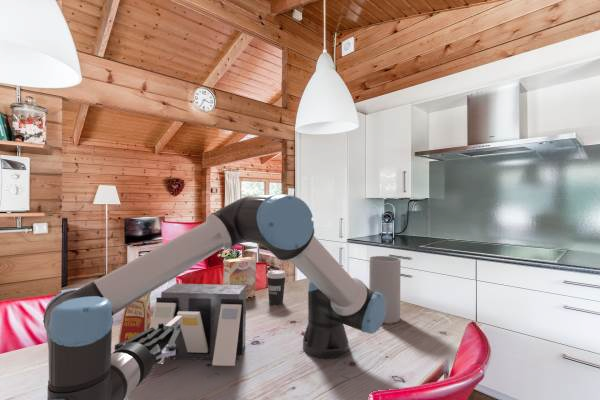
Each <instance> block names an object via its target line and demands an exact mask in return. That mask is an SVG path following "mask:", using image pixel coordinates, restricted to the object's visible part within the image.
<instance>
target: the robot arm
mask: <svg viewBox="0 0 600 400" xmlns="http://www.w3.org/2000/svg"><path fill="white" fill-rule="evenodd" d="M313 217H314V216H313V213H312V210H311V209H310V207H309V205H308V204H307V203H306V202H305V201H304V200H302V199H301V198H299V197H297V196H295V195H290V194H289V195H288V194H286V193H277V194H267V195H266V194H263V195H258V194H255V195H246V196H244V197H242V198H239V199H237V200H235V201H233V202H231V203H229V204H227V205H226V206H224V207H222V208H220V209H218V210H216V211H214V212H212V213H210V214H208V215H207V217H206V220H205V221H204V222H202V223H201V224H199V225H197V226H195V227H193V228H191V229H189V230H188V231H185V232H184V233H182V234H180V235H178V236H176V237H175V238H173V239H171V240H169V241H167V242H165V243H163V244H161V245H159V246H158V247H156V248H154V249H152V250H150V251H148V252H146V253H145V254H143V255H142V254H141V256H139V257H137V258H135V259H133V260H131V261H129V262H128V263H126V264H124V265H122V266H120V267H118V268H116V269H115V270H113V271H111V272H109V273H107V274H105V275H103V276H101V277H99V278H97V279H96V280H94V281H92V282H90V283H88V284H86V285H84V286H81V287H80V288H78V289H69V290H65V291H62V292H59V293H57V294H56V295H55V296H53V297H52V299H51V300H50V301H49V302H48V303H47V305H46V307H45V310H44V314H43V320H42V323H43V326H44V329H45V334H46V340H47V341H46V342H47V348H48V381H47V398H46V399H47V400H126V399H127V397H128V396H129V395H130V394H131V393H132V392H133V391H134V390H135V389H136V388H137V387H138V386H139V385H140V384H141V383H142V382H143V381H144V380H145V379H146V378H147V377H148V376H149V375H150V373H151V371H152V369H153V367H154V365H156V364H159V363H158V362H160V361H161V359H162V358H164V357H166V358H165V359H169V360H171V361H173V360H176V359H175V358H176V349H177V346H178V344H179V342H180V339H181V327H182V316H176V317H175V318H173V319H172V320H171V321H170V322H169V323H166V324H165V325H164V324H163V323H161V324H158V328H157V329H155V328H153V327H152V328H149V329H147V330H145V331H144V332H142V333H140V334H138V335H136V336H134V337H132V338H130V339H128V340H126V341H124V342H121V343H116V344H114V351H113V352H112V340H113V339H112V335H113V331H112V330H113V324H114V318H113V317H114V316H115V315H116V314H118V313H119V312H121V311H124V309H125V308H126V307H127V306H129V305H131V304H132V303H134V302H136V301H137V300H139V299H141V298H142V297H144V296H145V295H147V294H149V293H150V292H151V293H152V292H154V291H155V290H157V289H159V288H160V287H162V286H163V285H165V284H167V283H168V282H170V281H171V280H174V279H175V278H176V277H178V276H180V275H181V274H183V273H184V272H187V271H188V270H189V269H191V268H193V267H194V266H197V265H198V264H199V263H201V262H203V261H205V260H206V259H208V258H209V257H210V256H212V255H214V254H215V253H217V252H218V251H220V250H226V251H227V250H230V249H232V248H233V247H235V246H238V245H240V244H243V243H253V244H258V245H261V246H263V247H265V248H266V249H267V250H268V251H269V252H270V253H271V254H272V255H273V256H275V258H277V259H278V260H279V261H283V262H284V261H285V262H286V261H289V262H290V263H291V264H292V265H293V266H294V267H295V268H297V270H299V271H300V273H302V274H303V276H305V277H306V278H307V279H308V280H309V282H308V290H307V293H308V295H307V296H308V297H307V299H308V300H307V302H308V303H307V304H308V306H307V307H308V308H307V310H308V311H307V312H308V315H307V316H308V317H307V319H308V322H307V326H306V329H305V332H304V335H303V338H302V348H303V350H304V352H306V353H307V354H308V355H311V356H313V357H316V358H320V359H322V358H323V359H334V358H339V357H341V356H345V354H347V353H348V352H349V339H348V336H347V333H346V332H347V331H346V329H345V326H344V325H346V326H348V327H351V328H352V329H356V330H358V331H360V332H362V333H367V334H375V333H377V331H379V330H380V328H381V327H382V326H383V324H384V323H383V321H384V318H385V314H386V300H385V297H384V296H383V295H382V294H381V293H378V292H377V291H376V292H374V291H371V290H369V287H367V285H366V284H365V283H364V282H363V281H362V279H359V278H356V277H352V276H351V275H350V274H349V273H348V272H347V270H346V269H344V267H342V265H341V264H340V263H339V262H338V261H337V260H336V258H334V256H333V255H332V254H331V253H330V252H329V251H328V249H326V247H325V246H324V245H323V243H321V242H320V241H319V239H317V237H316V236H315V226H314V224H315V222H314V220H312V218H313ZM148 334H149V335H148ZM165 346H166V348H165V349H164V351H161V350H162V349H163V348H164V347H165ZM168 357H169V358H168Z"/></svg>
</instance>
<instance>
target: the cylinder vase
mask: <svg viewBox="0 0 600 400" xmlns="http://www.w3.org/2000/svg"><path fill="white" fill-rule="evenodd" d="M401 261H402V260H401V258H398V257H396V256H385V255H375V256H374V255H373V256H369V265H368V267H369V271H368V272H369V273H368V274H369V275H368V276H369V277H368V279H369V280H368V282H369V283H368V285H369V286H368V289H369V290H371V291H374V292H376V291H377V292H378V293H381V294H382V295H383V296H384V297H385V300H386V314H385V318H384V321H383V323H382V324H384V325H385V324H387V325H390V324H392V325H393V324H397V323H398V322H400V321H401V268H402V267H401V266H402V265H401V263H402V262H401Z"/></svg>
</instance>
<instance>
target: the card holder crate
mask: <svg viewBox="0 0 600 400" xmlns="http://www.w3.org/2000/svg"><path fill="white" fill-rule="evenodd" d="M160 294H161V295H160V297H157V296H156V299H155V300H156V301H155V303H176V308H175V313H174V318H175V317H176V316H177V313H178V311H190V312H200V315H201V320H202V324H203V328H204V333H205V337H206V342H207V346H208V352H207V353H198V352H187V348H186V345H185V341H184V337H183V334H182V330H181V339H180V342H179V344H178V346H177V349H176V358H175V359H174V360H176V359H179V360H206V361H207V360H210V361H213V356H214V349H215V343H216V336H217V329H218V322H219V316H220V309H221V304H236V305H242V307H241V316H240V324H239V333H238V342H237V350H236V359H235V362H236V361H237V362H238V361H239V360H240V358H241V356H242V357H243V356H244V355H243V354H244V348H245V347H246V331H247V330H246V326H247V325H246V324H247V323H246V322H247V321H246V320H247V317H246V316H247V314H246V313H247V311H246V310H247V303H246V302H247V299H246V285H223V284H210V283H209V284H206V283H205V284H204V283H199V284H198V283H175V284H173V285H171V286H170V287H167V288H166V289H164V290H163V291H161V293H160ZM165 359H169V357H168V358H166V357H165Z"/></svg>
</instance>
